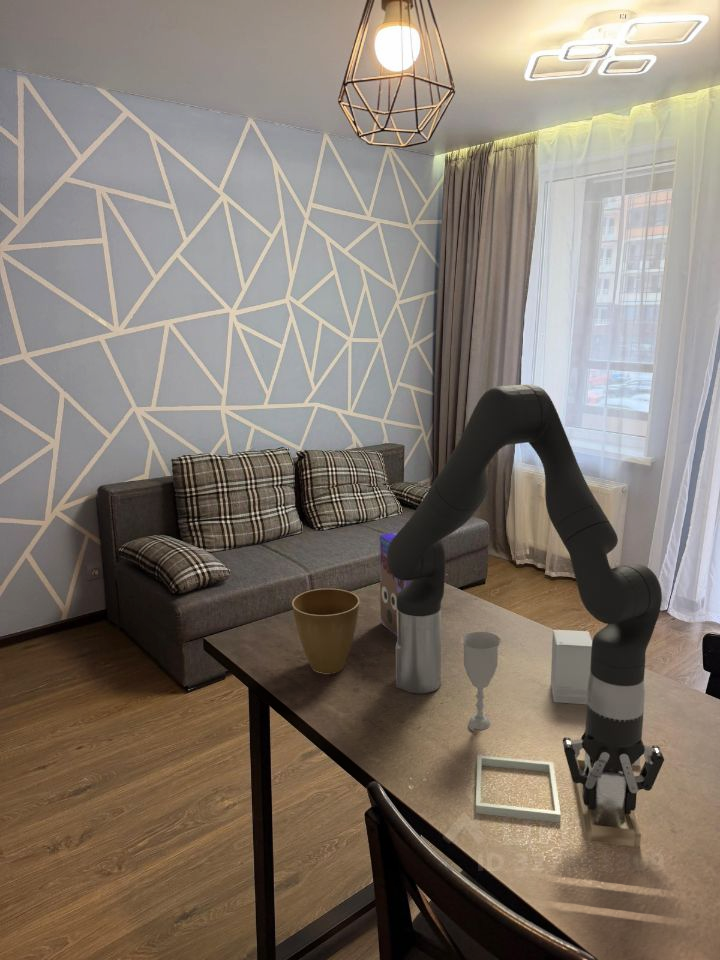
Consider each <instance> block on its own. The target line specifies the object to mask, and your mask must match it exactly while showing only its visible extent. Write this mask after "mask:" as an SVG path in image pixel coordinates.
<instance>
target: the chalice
mask: <svg viewBox="0 0 720 960" xmlns="http://www.w3.org/2000/svg"><path fill="white" fill-rule="evenodd" d="M460 641H461V643H462V645H463V666H464V669H465V672H466V675H467V676H468V679H469V681H470V682H471V684H472V686H473V687H475V688H477V692H476V694H475V698H476V699H477V702H476V703H475V707H476V709H477V712H476V713H474V714H473V715H471V717H470V718H469V721H468V723H467V727H468V729H469V730H471V731H472V732H475V729H476V730H487V729H488V728H490V727H491V725H492V723H491V720H490V718H489V717H488V716H487V715H486V714H484V708H485V706H486V705H485V703H484V698H485V694H484V691H483V690H484V689H485V688H487V687H488V686H489V684H490V682H491V681H492V679H493V677H494V675H495V673H496V670H497V667H498V663H499V662H498V660H499V659H498V658H499V654H498V653H499V651H498V650H499V646H500V644H501V642H502V640H501V638H500V637H499V636H498V635H497V634H494V633H491V632H486V631H473V632H468V633H466V634H464V635H463V636H462V637H461V639H460Z"/></svg>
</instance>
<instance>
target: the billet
mask: <svg viewBox="0 0 720 960" xmlns="http://www.w3.org/2000/svg"><path fill="white" fill-rule="evenodd" d="M594 788H595V796H594V810H592V817H593V819H594V820H595V821H596V822H597V823H598V824H600V825H602V826H606V827H615V828H618V827H620V826H622V825H623V824H624V817H625V802H626V788H627V780H626V777H625V774H624V772H623V771H617V770H613V769H610V770H603V771H602V773H601V775H600V777H599V778H597V780H596V782H595V785H594Z"/></svg>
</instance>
